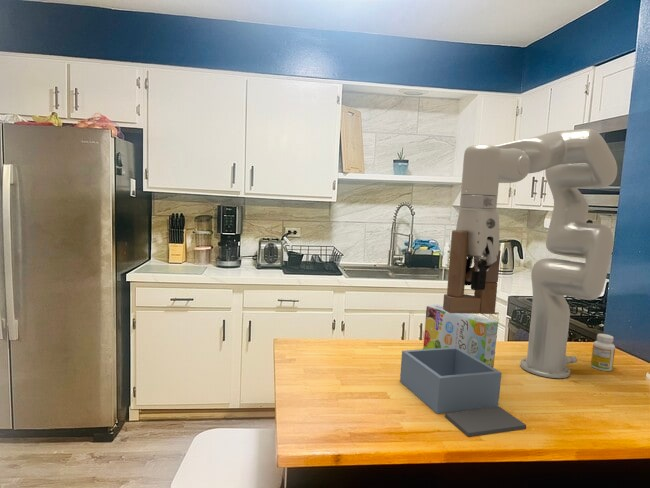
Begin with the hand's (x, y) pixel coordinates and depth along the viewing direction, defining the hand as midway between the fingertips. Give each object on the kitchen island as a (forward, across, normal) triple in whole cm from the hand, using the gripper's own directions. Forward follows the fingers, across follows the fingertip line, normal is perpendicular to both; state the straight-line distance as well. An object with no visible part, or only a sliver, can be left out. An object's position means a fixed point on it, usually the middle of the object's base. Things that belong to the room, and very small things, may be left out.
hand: (471, 286), depth 95 cm
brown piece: (+6, 0, 0) cm, 6 cm away
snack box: (+28, +23, -13) cm, 38 cm away
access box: (+27, +6, 0) cm, 28 cm away
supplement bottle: (+27, +13, -56) cm, 63 cm away
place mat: (+27, -8, 0) cm, 28 cm away
